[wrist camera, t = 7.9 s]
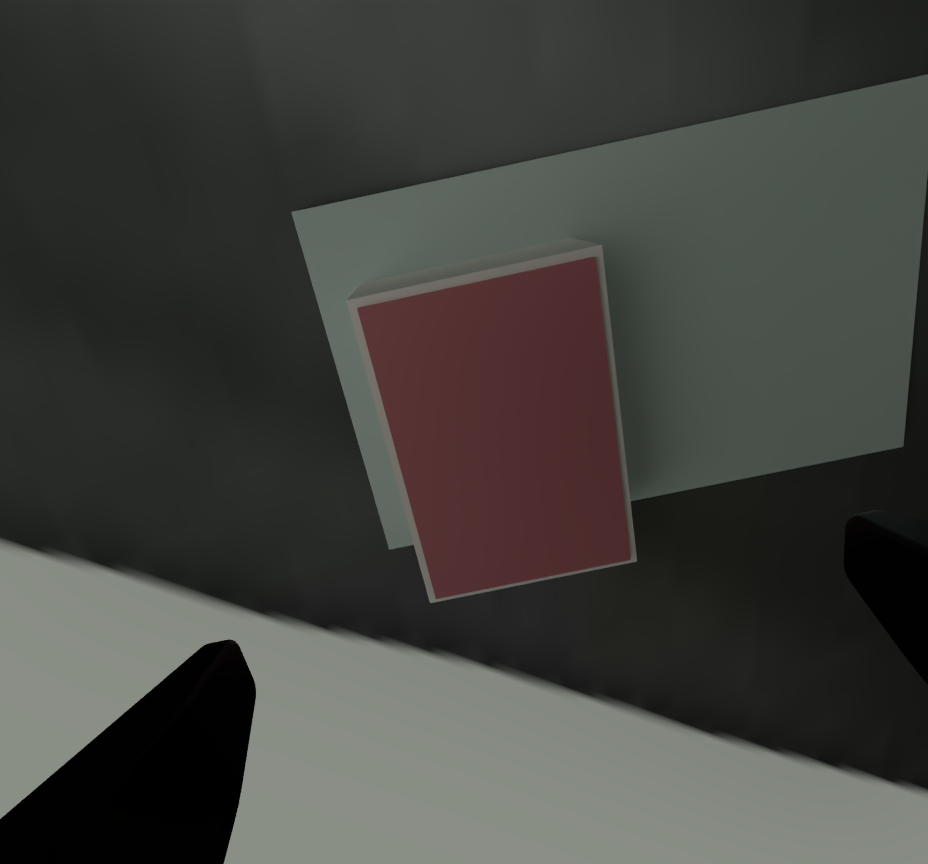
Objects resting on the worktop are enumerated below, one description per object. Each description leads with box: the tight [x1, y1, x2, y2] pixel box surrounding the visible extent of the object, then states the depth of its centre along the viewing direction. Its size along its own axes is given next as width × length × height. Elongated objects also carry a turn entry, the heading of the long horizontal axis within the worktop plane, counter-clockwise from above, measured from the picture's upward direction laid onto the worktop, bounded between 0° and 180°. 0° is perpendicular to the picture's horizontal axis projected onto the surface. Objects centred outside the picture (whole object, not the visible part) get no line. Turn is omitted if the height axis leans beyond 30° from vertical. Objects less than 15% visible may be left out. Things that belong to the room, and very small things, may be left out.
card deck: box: [346, 238, 637, 603], centre depth 15 cm, size 8×6×3 cm
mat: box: [292, 75, 928, 549], centre depth 16 cm, size 16×10×1 cm, turn 101°
